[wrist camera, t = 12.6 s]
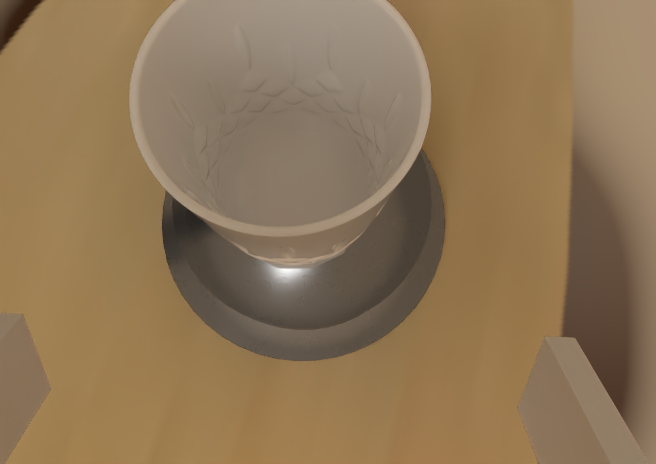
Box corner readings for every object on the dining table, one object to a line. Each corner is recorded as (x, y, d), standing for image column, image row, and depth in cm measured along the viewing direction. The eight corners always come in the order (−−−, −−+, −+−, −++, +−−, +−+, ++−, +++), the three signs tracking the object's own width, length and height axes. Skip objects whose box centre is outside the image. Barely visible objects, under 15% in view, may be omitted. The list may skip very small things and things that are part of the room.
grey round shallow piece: (106, 233, 26) (69, 213, 22) (291, 45, 29) (287, -2, 25) (320, 424, 24) (321, 440, 20) (496, 203, 27) (526, 179, 23)
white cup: (176, 185, 22) (68, 65, 13) (309, 89, 24) (304, -89, 14) (281, 319, 21) (252, 302, 11) (416, 210, 22) (494, 109, 13)
